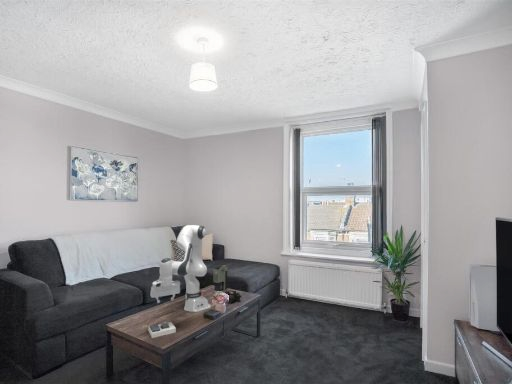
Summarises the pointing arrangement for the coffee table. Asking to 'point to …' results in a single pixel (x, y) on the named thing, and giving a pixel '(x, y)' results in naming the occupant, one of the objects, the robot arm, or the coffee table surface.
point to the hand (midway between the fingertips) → (165, 301)
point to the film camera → (233, 296)
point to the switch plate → (161, 330)
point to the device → (220, 278)
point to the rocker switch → (164, 325)
